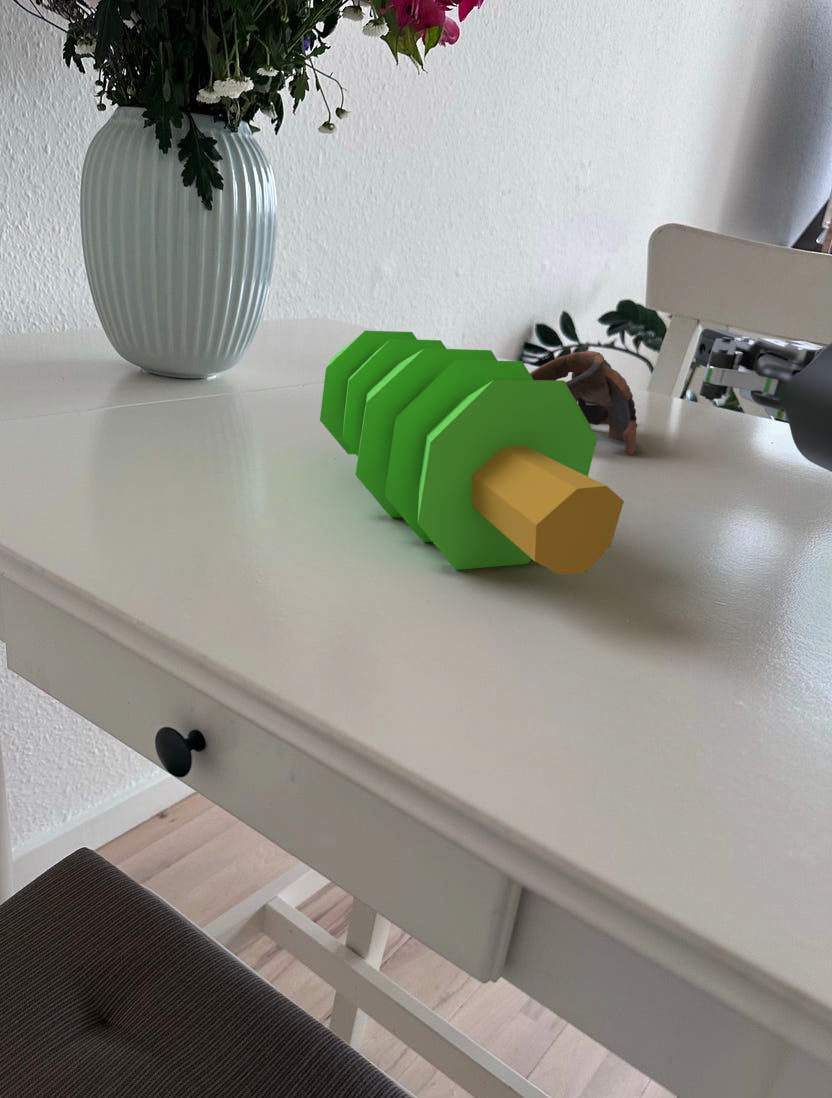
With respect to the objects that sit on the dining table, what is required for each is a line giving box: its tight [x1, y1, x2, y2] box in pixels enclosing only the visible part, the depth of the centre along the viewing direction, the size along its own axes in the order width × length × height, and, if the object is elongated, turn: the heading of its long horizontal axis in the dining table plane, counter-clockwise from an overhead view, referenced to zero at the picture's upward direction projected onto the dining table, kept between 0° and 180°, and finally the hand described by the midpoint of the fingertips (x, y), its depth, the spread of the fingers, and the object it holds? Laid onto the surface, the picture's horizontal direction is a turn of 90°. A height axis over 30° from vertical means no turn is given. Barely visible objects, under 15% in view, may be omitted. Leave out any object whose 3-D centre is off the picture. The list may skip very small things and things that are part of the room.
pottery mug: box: [529, 350, 638, 456], centre depth 80 cm, size 12×10×8 cm
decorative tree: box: [319, 330, 625, 575], centre depth 57 cm, size 11×12×30 cm
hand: (708, 345), depth 62 cm, fingers closed
